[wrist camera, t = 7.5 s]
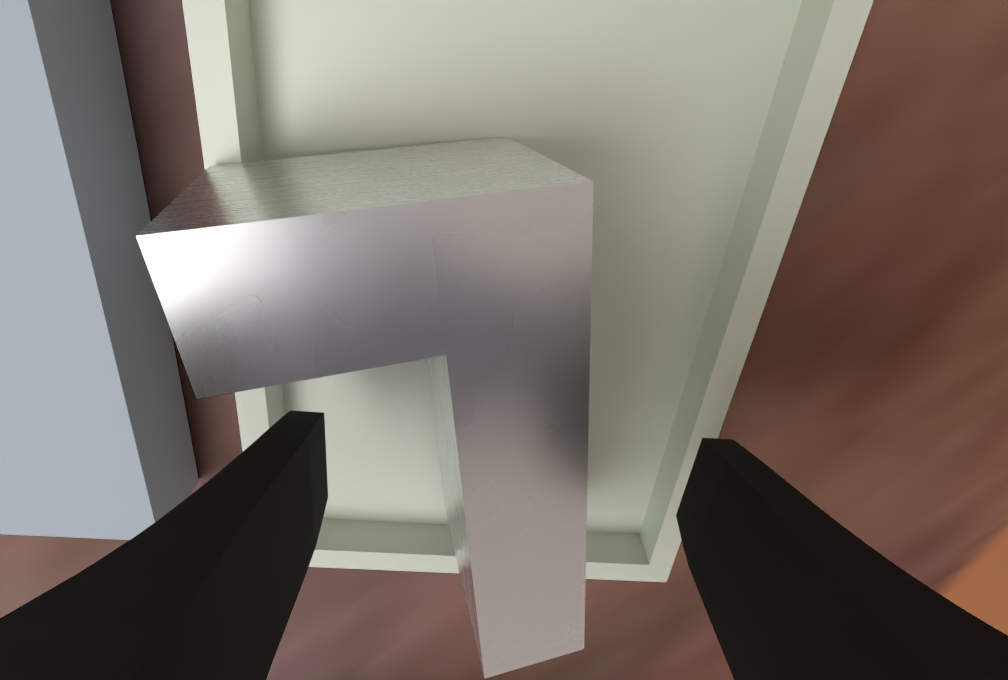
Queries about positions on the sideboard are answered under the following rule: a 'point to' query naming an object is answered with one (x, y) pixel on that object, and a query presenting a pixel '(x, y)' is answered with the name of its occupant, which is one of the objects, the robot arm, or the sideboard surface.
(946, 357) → the sideboard surface
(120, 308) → the vise block
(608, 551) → the tray
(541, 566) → the hook
